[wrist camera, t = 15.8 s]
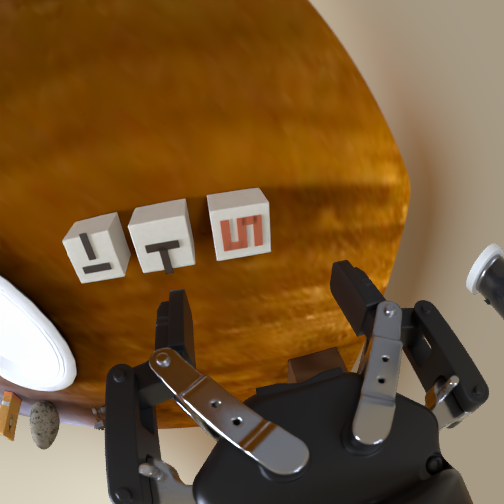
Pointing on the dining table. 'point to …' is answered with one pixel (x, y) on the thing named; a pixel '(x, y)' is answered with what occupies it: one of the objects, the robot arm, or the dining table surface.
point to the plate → (31, 344)
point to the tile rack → (314, 365)
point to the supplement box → (9, 414)
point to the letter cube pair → (144, 239)
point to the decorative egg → (44, 424)
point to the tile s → (239, 223)
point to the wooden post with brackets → (99, 424)
